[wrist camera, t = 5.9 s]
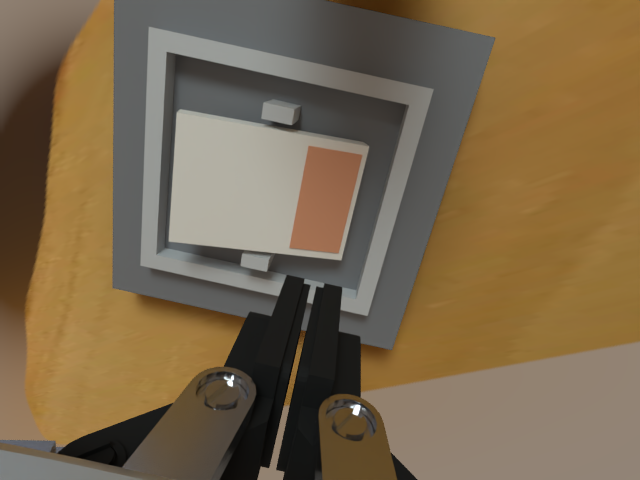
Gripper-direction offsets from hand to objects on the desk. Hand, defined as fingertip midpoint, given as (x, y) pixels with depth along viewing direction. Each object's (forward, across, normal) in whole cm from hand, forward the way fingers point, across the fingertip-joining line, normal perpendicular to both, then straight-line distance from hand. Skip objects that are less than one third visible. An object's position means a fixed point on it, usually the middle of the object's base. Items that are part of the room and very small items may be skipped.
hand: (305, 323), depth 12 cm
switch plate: (+17, +4, 0) cm, 17 cm away
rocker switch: (+12, +4, 0) cm, 12 cm away
